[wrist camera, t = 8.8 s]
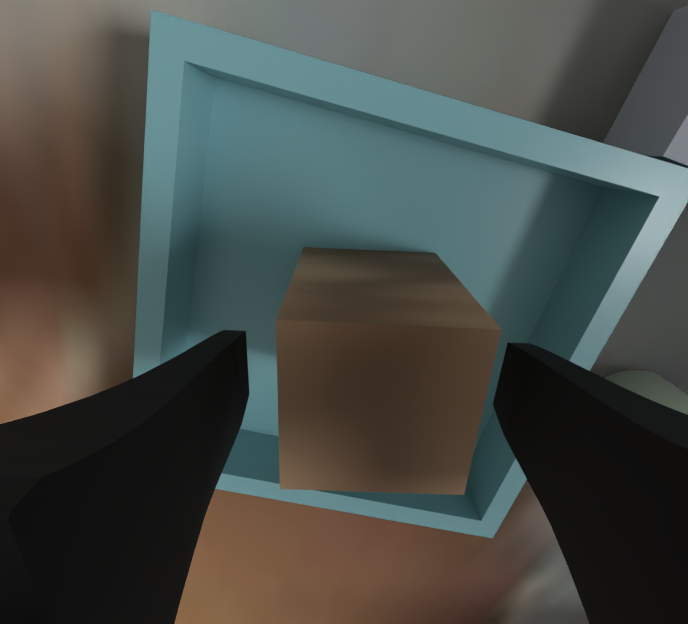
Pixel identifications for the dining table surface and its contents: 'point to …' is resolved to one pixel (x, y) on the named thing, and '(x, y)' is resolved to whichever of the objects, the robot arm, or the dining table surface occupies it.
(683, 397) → the sage cylinder
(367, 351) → the walnut block
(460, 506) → the tray
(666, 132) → the slate block
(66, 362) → the dining table surface
